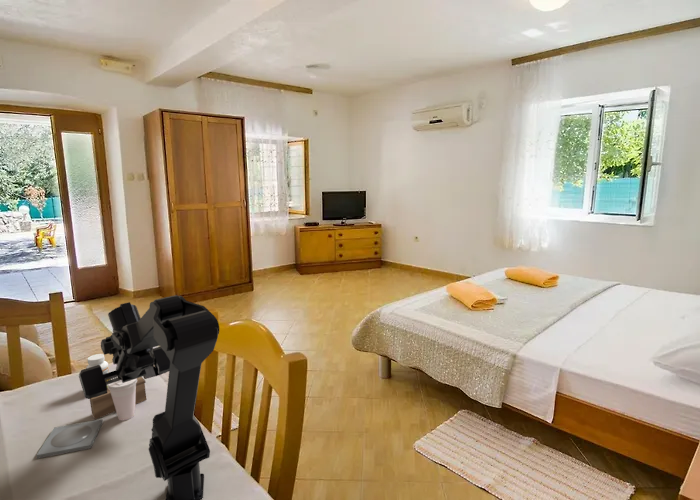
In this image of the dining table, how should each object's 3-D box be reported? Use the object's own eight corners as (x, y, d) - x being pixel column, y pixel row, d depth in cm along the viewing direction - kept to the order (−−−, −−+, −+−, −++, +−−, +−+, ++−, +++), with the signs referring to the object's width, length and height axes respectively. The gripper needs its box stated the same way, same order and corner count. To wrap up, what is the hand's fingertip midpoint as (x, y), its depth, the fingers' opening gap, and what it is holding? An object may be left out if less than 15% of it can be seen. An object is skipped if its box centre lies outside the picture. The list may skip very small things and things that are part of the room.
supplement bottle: (90, 386, 114) (86, 354, 112) (112, 382, 116) (108, 351, 114) (87, 395, 109) (82, 362, 107) (110, 391, 111) (105, 358, 109)
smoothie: (108, 425, 96) (101, 372, 93) (116, 410, 102) (109, 360, 99) (137, 421, 97) (131, 368, 95) (143, 406, 103) (137, 356, 101)
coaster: (90, 448, 88) (90, 444, 88) (37, 458, 85) (36, 454, 85) (103, 422, 97) (102, 418, 97) (55, 430, 94) (54, 426, 94)
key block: (147, 399, 107) (145, 380, 105) (94, 420, 98) (91, 399, 97) (143, 395, 109) (140, 376, 108) (90, 414, 100) (87, 394, 99)
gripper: (165, 314, 96) (153, 343, 106) (74, 337, 83) (70, 367, 93) (182, 354, 92) (167, 381, 102) (89, 385, 79) (82, 412, 89)
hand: (124, 384), depth 97 cm, fingers open, 9 cm apart
